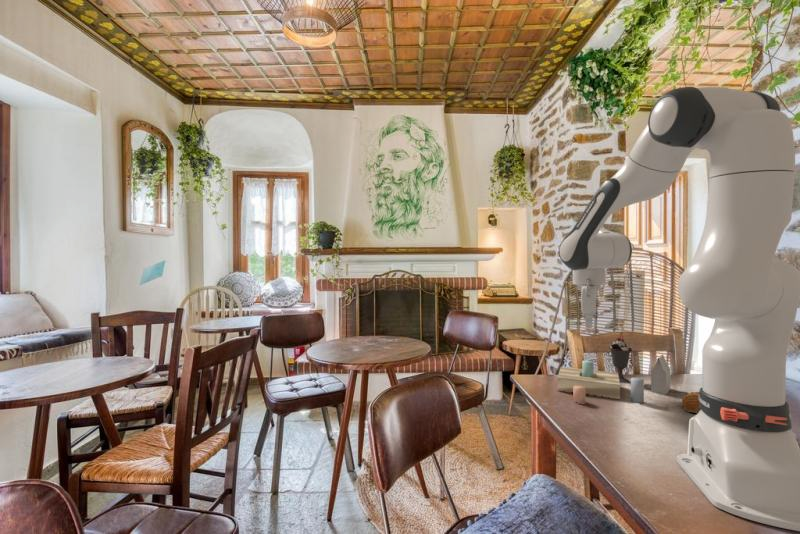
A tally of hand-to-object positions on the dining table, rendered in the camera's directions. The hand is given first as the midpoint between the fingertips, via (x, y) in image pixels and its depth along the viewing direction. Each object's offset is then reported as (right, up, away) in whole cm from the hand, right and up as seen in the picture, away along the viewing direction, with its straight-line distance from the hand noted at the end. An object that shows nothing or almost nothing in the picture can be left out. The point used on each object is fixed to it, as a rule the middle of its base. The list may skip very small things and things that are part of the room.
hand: (589, 325), depth 114 cm
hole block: (0, -19, +1) cm, 19 cm away
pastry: (+20, -20, -16) cm, 32 cm away
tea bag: (+20, -19, -2) cm, 28 cm away
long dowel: (0, -19, 0) cm, 19 cm away
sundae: (+14, -19, +8) cm, 25 cm away
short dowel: (-8, -19, -10) cm, 23 cm away
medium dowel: (+8, -19, -10) cm, 23 cm away
